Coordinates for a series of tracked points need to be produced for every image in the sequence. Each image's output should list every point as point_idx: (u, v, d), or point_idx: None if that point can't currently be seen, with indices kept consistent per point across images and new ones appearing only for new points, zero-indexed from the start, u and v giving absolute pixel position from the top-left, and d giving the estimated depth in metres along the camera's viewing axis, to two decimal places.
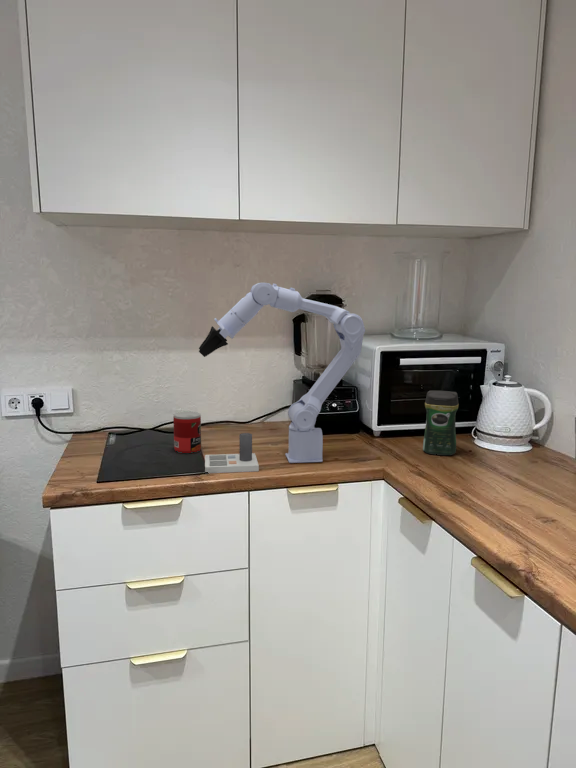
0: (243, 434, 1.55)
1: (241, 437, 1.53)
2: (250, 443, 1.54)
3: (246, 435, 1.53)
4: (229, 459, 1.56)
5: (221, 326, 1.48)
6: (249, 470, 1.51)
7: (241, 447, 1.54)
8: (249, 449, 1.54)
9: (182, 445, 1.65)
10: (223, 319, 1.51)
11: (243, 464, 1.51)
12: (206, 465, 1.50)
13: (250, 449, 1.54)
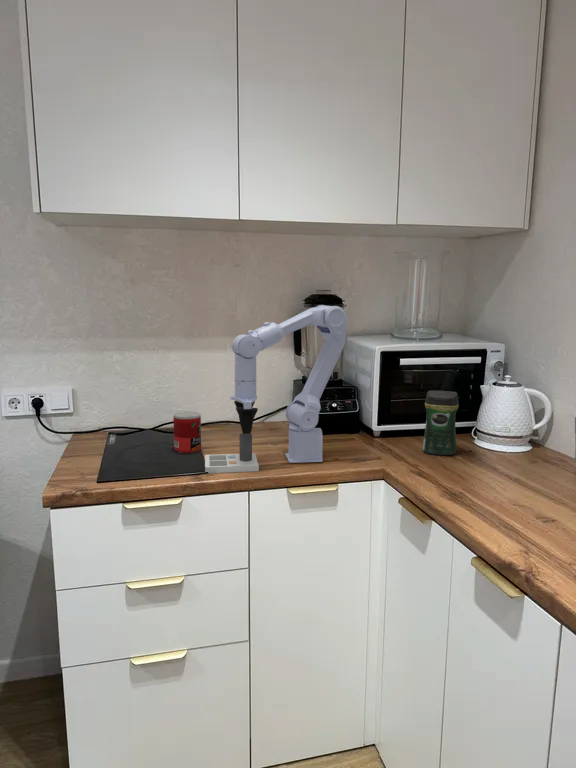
0: (243, 434, 1.55)
1: (241, 437, 1.53)
2: (250, 443, 1.54)
3: (246, 435, 1.53)
4: (229, 459, 1.56)
5: (240, 401, 1.48)
6: (249, 470, 1.51)
7: (241, 447, 1.54)
8: (249, 449, 1.54)
9: (182, 445, 1.65)
10: (237, 393, 1.51)
11: (243, 464, 1.51)
12: (206, 465, 1.50)
13: (250, 449, 1.54)
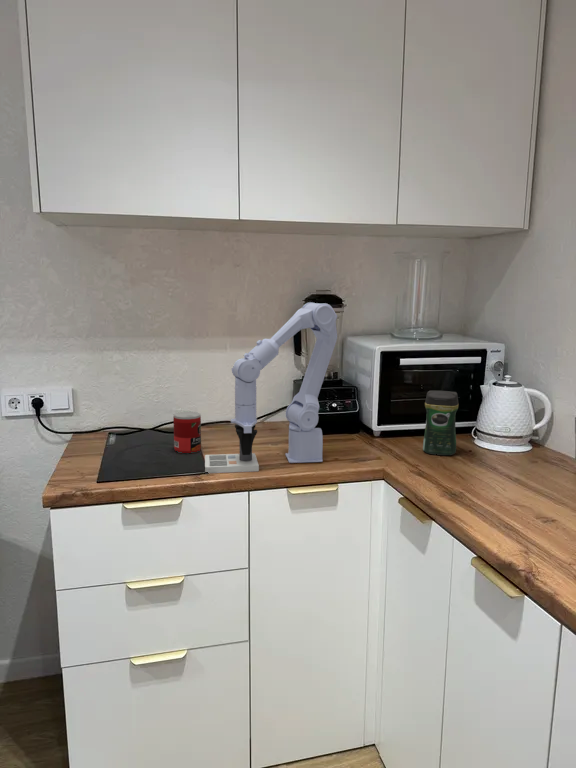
0: None
1: None
2: None
3: None
4: (229, 459, 1.56)
5: (240, 425, 1.49)
6: (249, 470, 1.51)
7: None
8: None
9: (182, 445, 1.65)
10: (237, 416, 1.52)
11: (243, 464, 1.51)
12: (206, 465, 1.50)
13: None
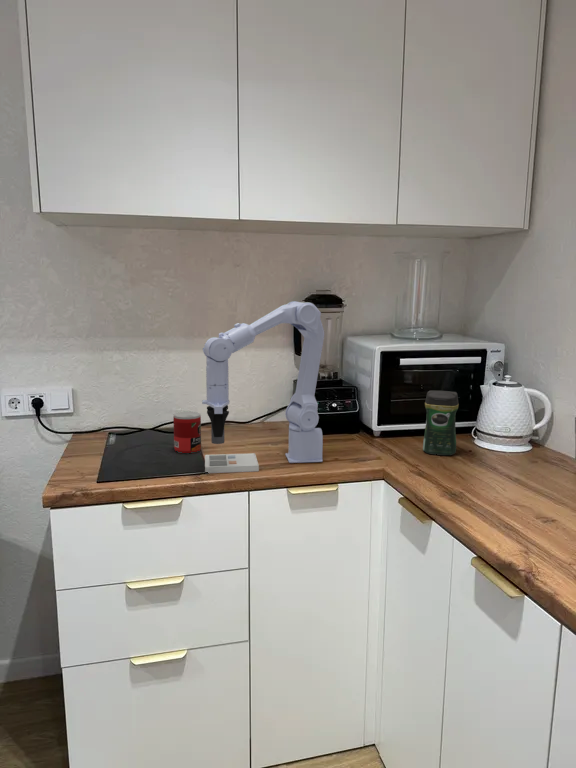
0: None
1: None
2: None
3: None
4: (229, 459, 1.56)
5: (211, 405, 1.45)
6: (249, 470, 1.51)
7: None
8: None
9: (182, 445, 1.65)
10: (208, 397, 1.47)
11: (243, 464, 1.51)
12: (206, 465, 1.50)
13: None
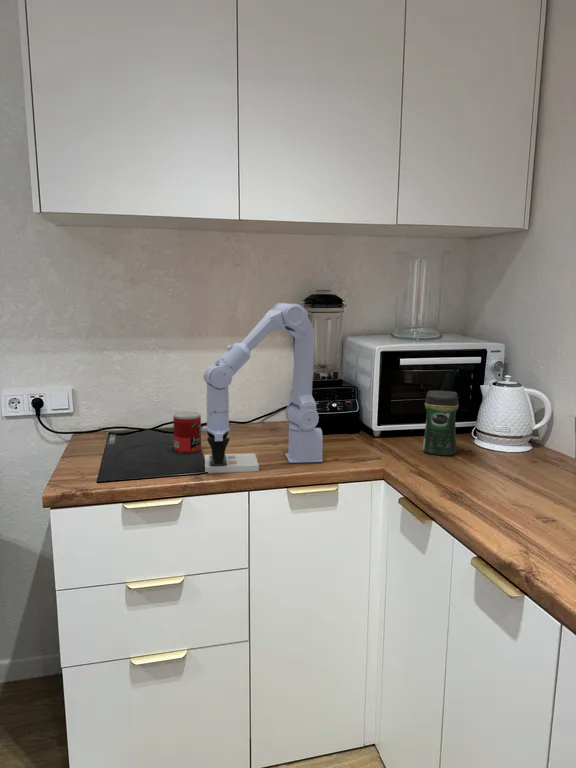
0: None
1: None
2: None
3: None
4: (229, 459, 1.56)
5: (212, 432, 1.46)
6: (249, 470, 1.51)
7: None
8: None
9: (182, 445, 1.65)
10: (208, 423, 1.48)
11: (243, 464, 1.51)
12: (206, 465, 1.50)
13: None
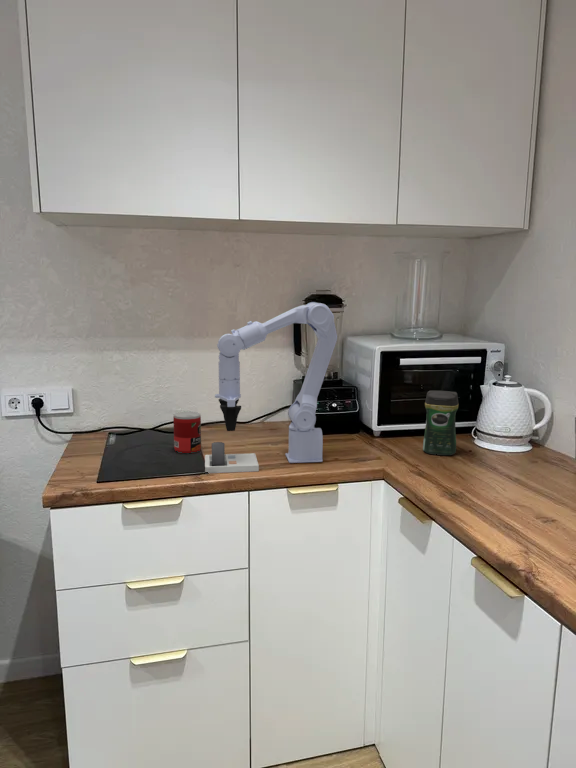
0: (215, 443, 1.51)
1: (213, 446, 1.50)
2: (222, 452, 1.51)
3: (218, 445, 1.50)
4: (229, 459, 1.56)
5: (224, 399, 1.51)
6: (249, 470, 1.51)
7: (213, 456, 1.51)
8: (221, 459, 1.51)
9: (182, 445, 1.65)
10: (221, 391, 1.54)
11: (243, 464, 1.51)
12: (206, 465, 1.50)
13: (222, 458, 1.51)
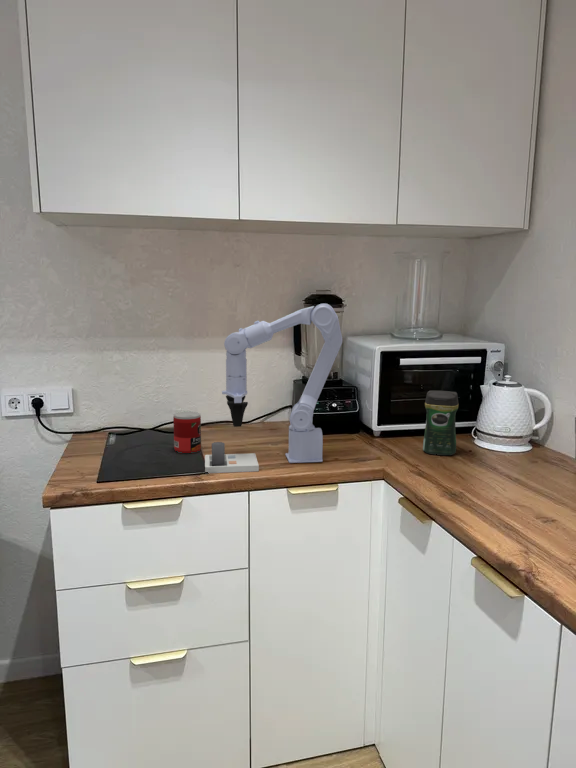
0: (215, 443, 1.51)
1: (213, 446, 1.50)
2: (222, 452, 1.51)
3: (219, 445, 1.50)
4: (229, 459, 1.56)
5: (231, 395, 1.56)
6: (249, 470, 1.51)
7: (213, 456, 1.51)
8: (221, 459, 1.51)
9: (182, 445, 1.65)
10: (228, 387, 1.58)
11: (243, 464, 1.51)
12: (206, 465, 1.50)
13: (222, 458, 1.51)
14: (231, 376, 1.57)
